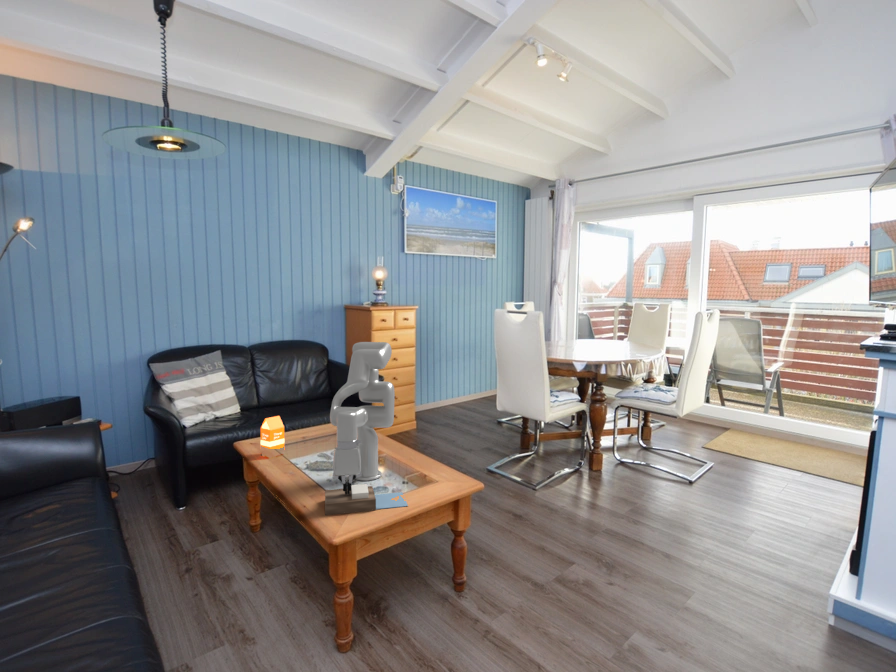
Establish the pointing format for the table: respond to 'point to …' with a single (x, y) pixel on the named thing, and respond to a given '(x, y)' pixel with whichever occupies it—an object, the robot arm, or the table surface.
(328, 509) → the brown wooden block
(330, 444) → the table surface
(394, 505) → the mat
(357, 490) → the off-white flat slab
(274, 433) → the orange juice
